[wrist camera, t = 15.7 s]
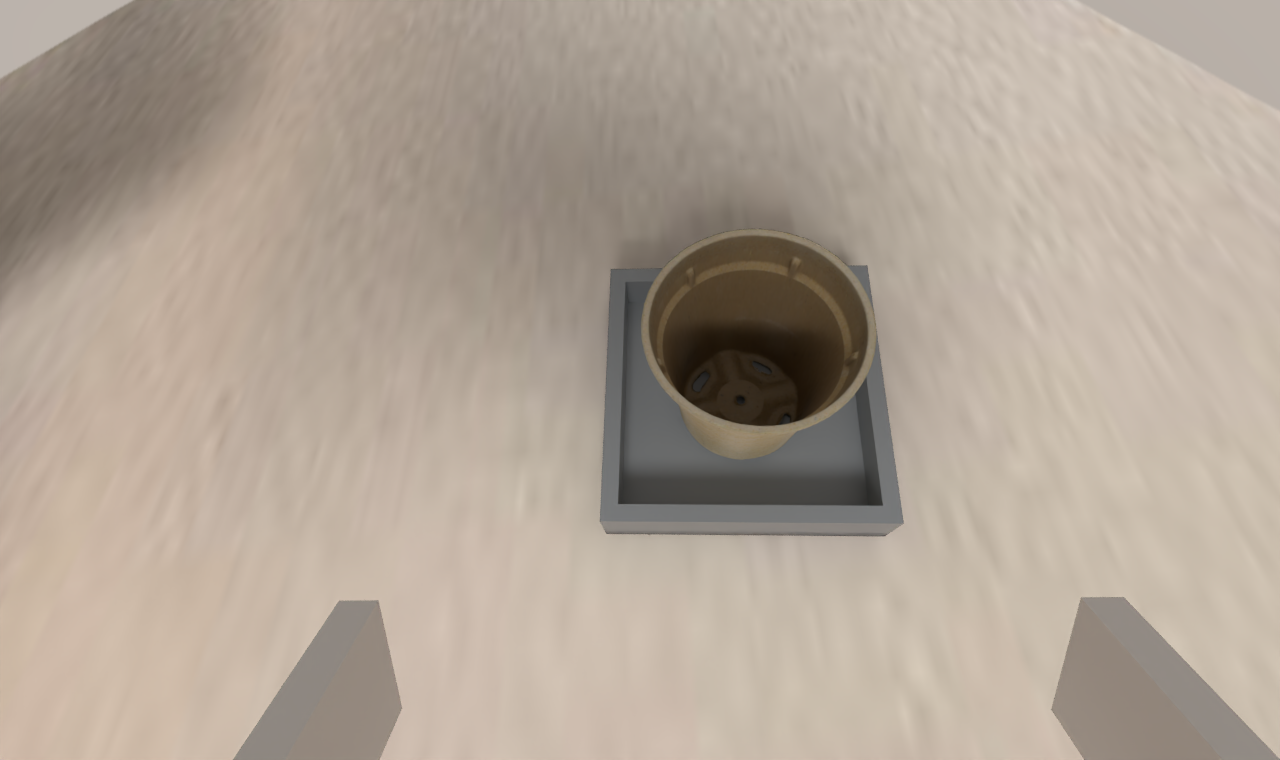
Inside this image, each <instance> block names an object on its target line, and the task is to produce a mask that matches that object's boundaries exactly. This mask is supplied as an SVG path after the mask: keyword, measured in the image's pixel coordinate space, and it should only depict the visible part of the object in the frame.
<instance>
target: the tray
mask: <svg viewBox="0 0 1280 760" xmlns="http://www.w3.org/2000/svg"><path fill="white" fill-rule="evenodd" d="M848 268H850V270H851V271H852V272H853V273H854V275H855V276H856V277H857V278H858V280H859V281H860V283H861V284H862V286H863V288H864V290H865V292H866V293H867V295H868V298H869V300H870V303H871V306H872V309H873V303H872V295H871V288H870V281H869V274H868V267H867V265H866V266H848ZM662 269H663V268H662ZM662 269H611V279H610V302H609V325H608V348H607V371H606V394H605V417H604V440H603V463H602V486H601V509H600V522H601V524H602V526H603V528H604V530H605V532H606V534H687V535H801V536H886V535H887V534H889V533H890V532H892V531H893V530H895V529H896V528H898V527H899V526H901V525H902V524H904V523H903V515H902V508H901V501H900V494H899V487H898V480H897V473H896V466H895V459H894V452H893V444H892V437H891V430H890V423H889V416H888V409H887V402H886V395H885V388H884V381H883V374H882V366H881V359H880V352H879V345H878V338H876V347H875V353H874V357H873V361H872V364H871V367H870V369H869V372H868V374H867V376H866V378H865V380H864V381H863V383H862V385H861V386H860V388H859V389H858V391H857V392H856V393H855V395H854V396H853V397H852V398H851V399H850V400H849V401H848V402H847V403H846V404H845V405H844V406H843V407H842V408H841V409H839V410H838V411H837V412H835V413H834V414H833V415H831V416H830V417H828V418H826V419H825V420H823V421H821V422H819V423H817V424H815V425H812V426H810V427H808V428H805V429H802V430H799V431H797V432H796V433H795V434H794V435H793V436H792V437H791V438H790V439H789V440H788V441H787V442H786V443H785V444H784V445H783V446H782V447H780V448H779V449H778V450H776V451H775V452H772V453H770V454H768V455H765V456H761V457H757V458H752V459H744V460H739V459H731V458H727V457H723V456H720V455H718V454H715V453H713V452H711V451H709V450H708V449H706V448H705V447H703V446H702V445H701V444H700V443H699V442H698V441H697V440H696V439H695V438H694V437H693V436H692V435H691V433H690V432H689V430H688V429H687V427H686V425H685V423H684V421H683V418H682V416H681V412H680V407H679V405H678V404H677V403H676V402H675V401H674V400H673V399H672V398H671V397H670V396H669V395H668V394H667V393H666V392H665V390H664V389H663V388H662V386H661V385H660V384H659V382H658V380H657V379H656V377H655V376H654V374H653V372H652V370H651V368H650V366H649V364H648V361H647V359H646V356H645V353H644V348H643V344H642V338H641V336H642V335H641V319H642V313H643V307H644V303H645V300H646V297H647V294H648V291H649V290H650V288H651V286H652V284H653V282H654V280H655V279H656V277H657V276H658V274H659V273H660V272H661V270H662ZM873 311H874V310H873ZM876 337H877V331H876ZM753 366H754V367H756V368H758V370H759V372H761V371H763V372H765V373H767V374H771V371H770V370H769V369H768V368H767V367H766V366H763V365H761V364H759V363H756V362H753ZM708 378H709V374H708V373H707V372H704V373H702V374H701V375H700V377H699V378H698V379H697V380H696V381H695V382H694V384H693V389H694V390H695V391H698V392H699V391H701V388H702V386H703V385H704V384H705V382H706V380H707V379H708ZM737 402H738V403H739V404H743V403H744V402H745V399H744V398H743V397H741V396H740V397H737ZM788 423H790V416H789V415H787V414H785V415H784V417H783V419H782V421H781V423H780V424H779V425H783V424H788Z"/></svg>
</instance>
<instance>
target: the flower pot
mask: <svg viewBox="0 0 1280 760" xmlns="http://www.w3.org/2000/svg"><path fill="white" fill-rule="evenodd" d="M641 335H642V336H641V338H642V344H643V348H644V353H645V356H646V359H647V361H648V364H649V366H650V368H651V370H652V372H653V374H654V376H655V377H656V379H657V380H658V382H659V384H660V385H661V386H662V388H663V389H664V390H665V392H666V393H667V394H668V395H669V396H670V397H671V398H672V399H673V400H674V401H675V402H676V403H677V404H678V405H679V407H680V412H681V416H682V418H683V421H684V423H685V425H686V427H687V429H688V430H689V432H690V433H691V435H692V436H693V437H694V438H695V439H696V440H697V441H698V442H699V443H700V444H701V445H702V446H703V447H705V448H706V449H708V450H709V451H711V452H713V453H715V454H718V455H720V456H723V457H727V458H731V459H739V460H744V459H752V458H757V457H761V456H765V455H768V454H770V453H772V452H775V451H776V450H778V449H779V448H780V447H782V446H783V445H784V444H785V443H786V442H787V441H788V440H789V439H790V438H791V437H792V436H793V435H794V434H795V433H796V432H797V431H799V430H802V429H805V428H808V427H810V426H812V425H815V424H817V423H819V422H821V421H823V420H825V419H826V418H828V417H830V416H831V415H833V414H834V413H835V412H837V411H838V410H839V409H841V408H842V407H843V406H844V405H845V404H846V403H847V402H848V401H849V400H850V399H851V398H852V397H853V396H854V395H855V393H856V392H857V391H858V389H859V388H860V386H861V385H862V383H863V381H864V380H865V378H866V376H867V374H868V372H869V369H870V367H871V364H872V361H873V357H874V353H875V347H876V338H877V337H876V323H875V317H874V311H873V309H872V306H871V303H870V300H869V298H868V295H867V293H866V292H865V290H864V288H863V286H862V284H861V283H860V281H859V280H858V278H857V277H856V276H855V275H854V273H853V272H852V271H851V270H850V268H848V266H847V265H846V264H845V263H843V262H842V261H841V260H840V259H839V258H838V257H837V256H836V255H834V254H832V253H831V252H830V251H828V250H826V249H825V248H823V247H822V246H821V245H819V244H816V243H814V242H812V241H810V240H808V239H805V238H801V237H799V236H797V235H792V234H789V233H785V232H780V231H775V230H766V229H743V230H736V231H727V232H723V233H719V234H717V235H713V236H711V237H707V238H705V239H703V240H701V241H699V242H696V243H695V244H693V245H691V246H689V247H687V248H686V249H684V250H683V251H681V252H680V253H679V254H678V255H677V256H675V257H674V258H673V259H672V260H671V261H669V262H668V263H667V264H666V266H665V267H664V268H663V269H662V270H661V272H660V273H659V274H658V276H657V277H656V279H655V280H654V282H653V284H652V286H651V288H650V290H649V291H648V294H647V297H646V300H645V303H644V307H643V313H642V319H641ZM753 362H756V363H759V364H761V365H763V366H766V367H767V368H768V369H769V370H770V371H771V374H767V373H765V372H763V371H761V372H759V370H758V368H756V367H754V366H753ZM704 372H707V373H708V374H709V378H708V379H707V380H706V382H705V384H704V385H703V386H702V388H701V391H699V392H698V391H695V390H694V389H693V384H694V382H695V381H696V380H697V379H698V378H699V377H700V375H701V374H702V373H704ZM740 396H741V397H743V398H744V399H745V402H744V403H743V404H739V403H738V402H737V397H740ZM785 414H787V415H789V416H790V423H788V424H783V425H779V424H780V423H781V421H782V419H783V417H784V415H785Z"/></svg>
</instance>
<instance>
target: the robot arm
mask: <svg viewBox="0 0 1280 760" xmlns="http://www.w3.org/2000/svg"><path fill="white" fill-rule="evenodd" d="M401 709H402V706H401V701H400V696H399V692H398V687H397V683H396V678H395V674H394V669H393V665H392V660H391V655H390V651H389V646H388V642H387V637H386V633H385V628H384V624H383V619H382V614H381V610H380V605H379V601H339V602H338V603H337V605H336V606H335V608H334V609H333V611H332V612H331V614H330V615H329V617H328V618H327V620H326V621H325V623H324V624H323V626H322V627H321V629H320V630H319V632H318V633H317V635H316V636H315V638H314V639H313V641H312V642H311V644H310V645H309V647H308V648H307V650H306V651H305V653H304V654H303V656H302V657H301V659H300V660H299V662H298V663H297V665H296V666H295V668H294V669H293V671H292V672H291V674H290V675H289V677H288V678H287V680H286V681H285V683H284V684H283V686H282V687H281V689H280V690H279V692H278V693H277V695H276V696H275V698H274V699H273V701H272V702H271V704H270V705H269V707H268V708H267V710H266V711H265V713H264V714H263V716H262V717H261V719H260V720H259V722H258V723H257V725H256V726H255V728H254V729H253V731H252V732H251V734H250V735H249V737H248V738H247V740H246V741H245V743H244V744H243V746H242V747H241V749H240V750H239V752H238V753H237V755H236V756H235V758H234V759H233V760H379V759H380V757H381V755H382V752H383V750H384V748H385V746H386V743H387V741H388V739H389V736H390V734H391V732H392V730H393V727H394V725H395V723H396V721H397V718H398V716H399V714H400V711H401ZM1051 710H1052V711H1053V713H1054V714H1055V716H1056V717H1057V719H1058V720H1059V722H1060V723H1061V725H1062V726H1063V728H1064V730H1065V731H1066V733H1067V734H1068V736H1069V737H1070V739H1071V740H1072V742H1073V743H1074V745H1075V746H1076V748H1077V749H1078V751H1079V752H1080V754H1081V755H1082V757H1083V758H1084V760H1280V759H1279V758H1278V757H1277V756H1276V755H1275V754H1274V753H1273V752H1272V751H1271V750H1270V749H1269V748H1268V747H1267V745H1266V744H1265V743H1264V742H1263V741H1262V740H1261V739H1260V738H1259V737H1258V736H1257V735H1256V734H1255V733H1254V732H1253V731H1252V730H1251V729H1250V728H1249V727H1248V726H1247V725H1246V724H1245V723H1244V722H1243V721H1242V719H1241V718H1240V717H1239V716H1238V715H1237V714H1236V713H1235V712H1234V711H1233V710H1232V709H1231V708H1230V707H1229V706H1228V705H1227V704H1226V703H1225V702H1224V701H1223V700H1222V699H1221V698H1220V697H1219V696H1218V695H1217V694H1216V692H1215V691H1214V690H1213V689H1212V688H1211V687H1210V686H1209V685H1208V684H1207V683H1206V682H1205V681H1204V680H1203V679H1202V678H1201V677H1200V676H1199V675H1198V674H1197V673H1196V672H1195V671H1194V670H1193V669H1192V668H1191V667H1190V665H1189V664H1188V663H1187V662H1186V661H1185V660H1184V659H1183V658H1182V657H1181V656H1180V655H1179V654H1178V653H1177V652H1176V651H1175V650H1174V649H1173V648H1172V647H1171V646H1170V645H1169V644H1168V643H1167V642H1166V641H1165V639H1164V638H1163V637H1162V636H1161V635H1160V634H1159V633H1158V632H1157V631H1156V630H1155V629H1154V628H1153V627H1152V626H1151V625H1150V624H1149V623H1148V622H1147V621H1146V620H1145V619H1144V618H1143V617H1142V616H1141V615H1140V614H1139V612H1138V611H1137V610H1136V609H1135V608H1134V607H1133V606H1132V605H1131V604H1130V603H1129V602H1128V601H1127V600H1126V599H1125V598H1124V597H1085V598H1081V600H1080V603H1079V607H1078V611H1077V615H1076V618H1075V622H1074V626H1073V630H1072V633H1071V637H1070V641H1069V645H1068V648H1067V652H1066V656H1065V660H1064V664H1063V667H1062V671H1061V675H1060V679H1059V682H1058V686H1057V690H1056V694H1055V697H1054V701H1053V705H1052V709H1051Z"/></svg>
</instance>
